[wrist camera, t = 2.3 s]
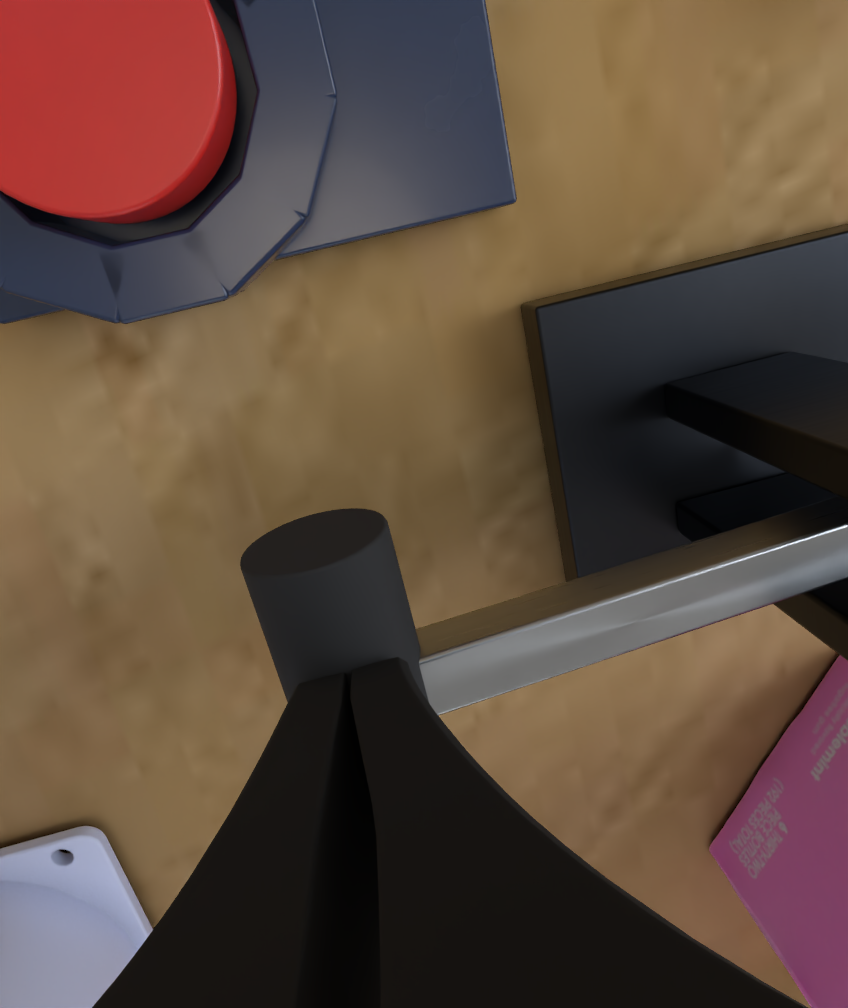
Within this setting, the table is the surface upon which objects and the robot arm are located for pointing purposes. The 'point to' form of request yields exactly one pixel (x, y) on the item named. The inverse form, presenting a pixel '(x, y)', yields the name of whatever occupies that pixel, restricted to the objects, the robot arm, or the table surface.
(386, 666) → the robot arm
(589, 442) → the bracket
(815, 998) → the gum box
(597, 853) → the table surface
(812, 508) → the lever
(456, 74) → the control block
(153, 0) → the button
